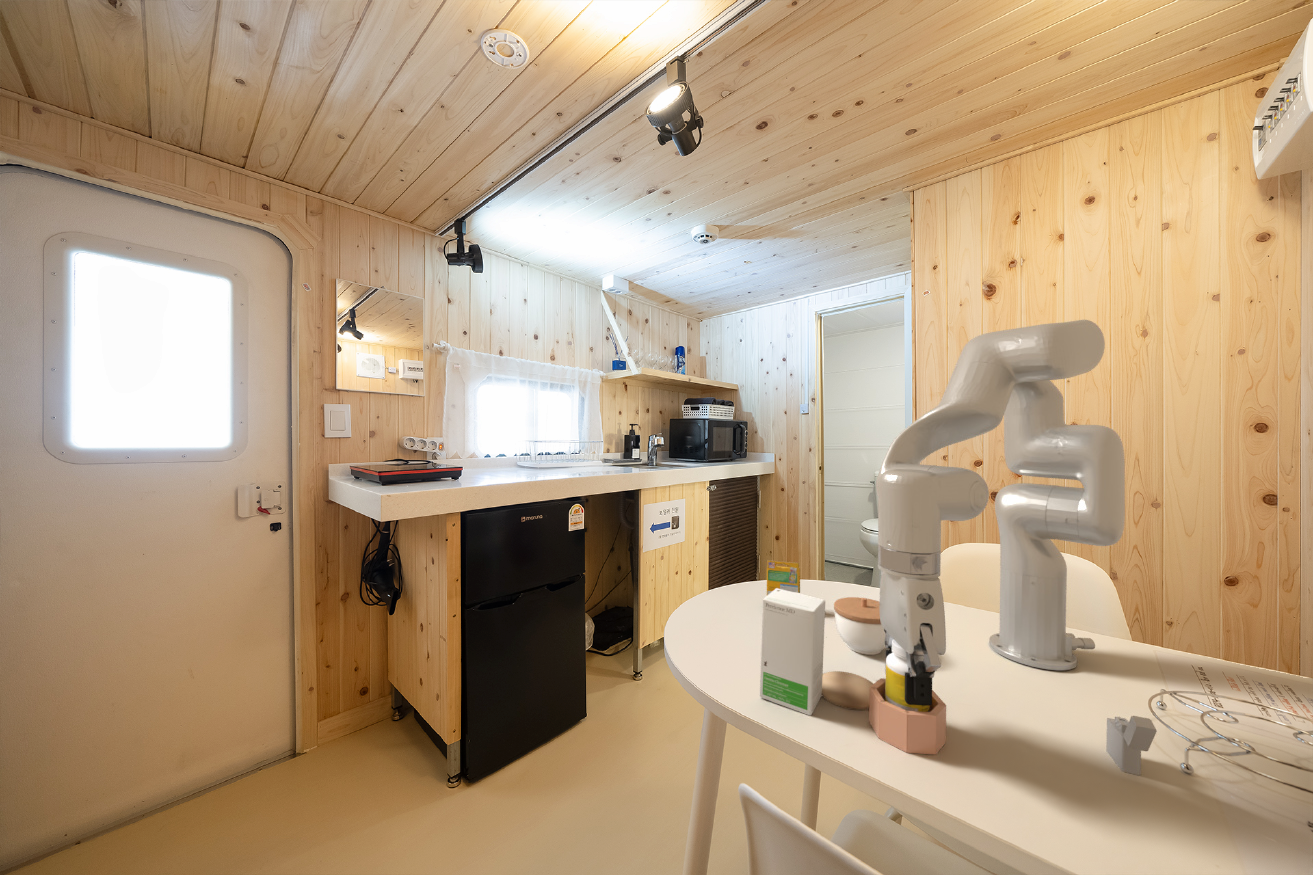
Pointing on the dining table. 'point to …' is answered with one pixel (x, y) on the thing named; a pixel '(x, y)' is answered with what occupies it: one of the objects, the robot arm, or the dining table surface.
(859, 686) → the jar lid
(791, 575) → the crayon box
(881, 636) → the lidded jar
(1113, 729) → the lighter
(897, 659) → the supplement bottle
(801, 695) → the skincare box
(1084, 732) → the dining table surface
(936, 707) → the terracotta octagonal planter pot
